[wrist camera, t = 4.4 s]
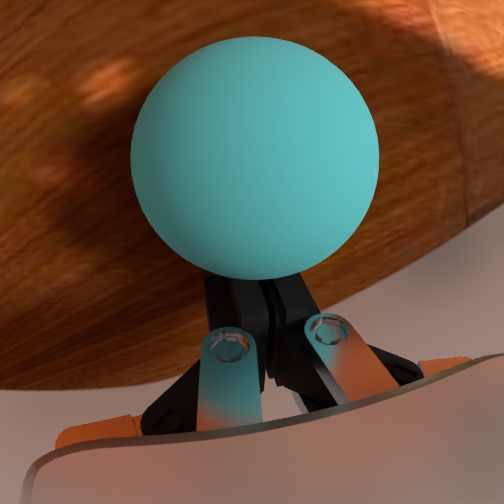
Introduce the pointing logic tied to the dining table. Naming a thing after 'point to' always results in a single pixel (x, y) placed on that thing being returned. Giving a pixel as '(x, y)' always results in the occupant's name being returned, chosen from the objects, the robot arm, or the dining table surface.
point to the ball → (254, 158)
